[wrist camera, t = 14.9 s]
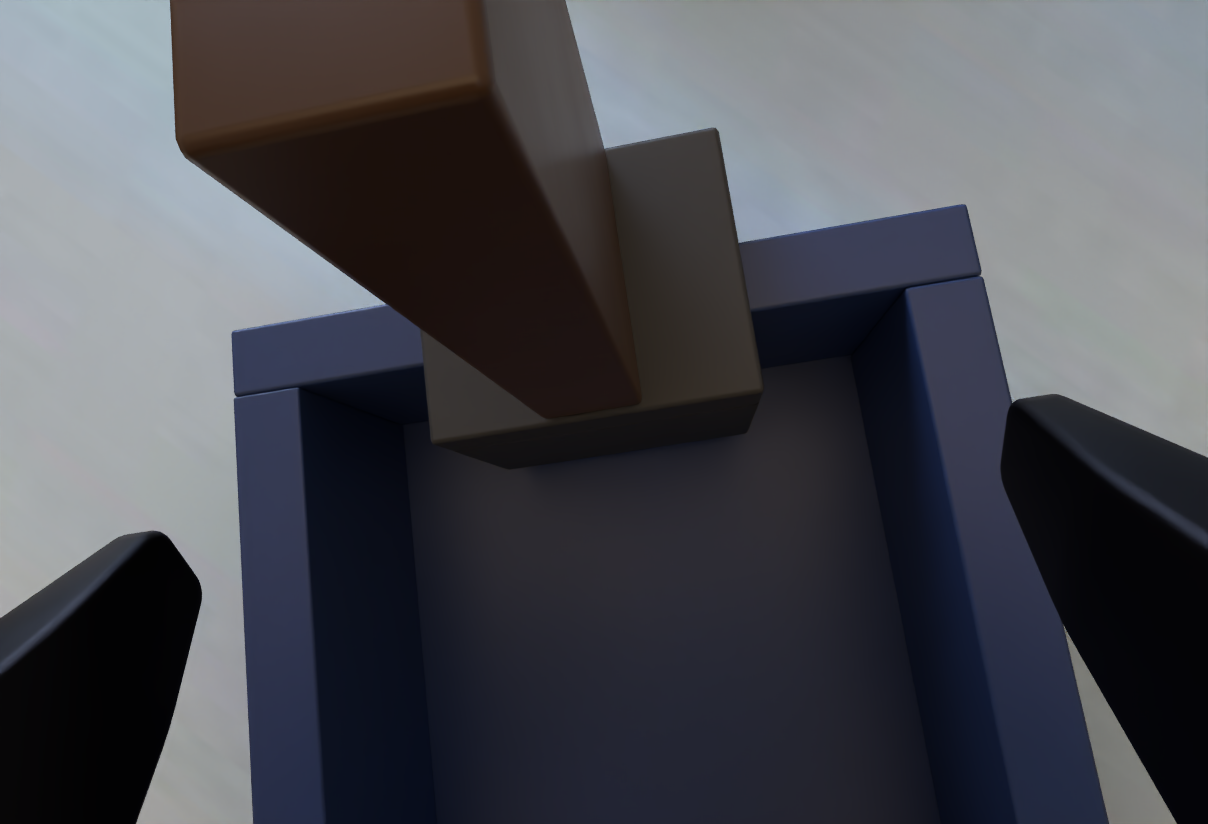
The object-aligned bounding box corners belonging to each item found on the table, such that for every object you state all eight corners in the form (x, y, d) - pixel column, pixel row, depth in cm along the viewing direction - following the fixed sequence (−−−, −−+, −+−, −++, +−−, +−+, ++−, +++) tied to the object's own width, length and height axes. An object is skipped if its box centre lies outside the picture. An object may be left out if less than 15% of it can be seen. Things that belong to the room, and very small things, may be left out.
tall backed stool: (748, 433, 15) (917, 20, 3) (506, 470, 16) (-177, 245, 4) (714, 237, 16) (740, -727, 4) (484, 279, 17) (-144, -451, 4)
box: (1035, 1010, 15) (1213, 1267, 9) (412, 1050, 16) (273, 1294, 11) (889, 301, 17) (967, 201, 12) (361, 387, 18) (228, 330, 13)
